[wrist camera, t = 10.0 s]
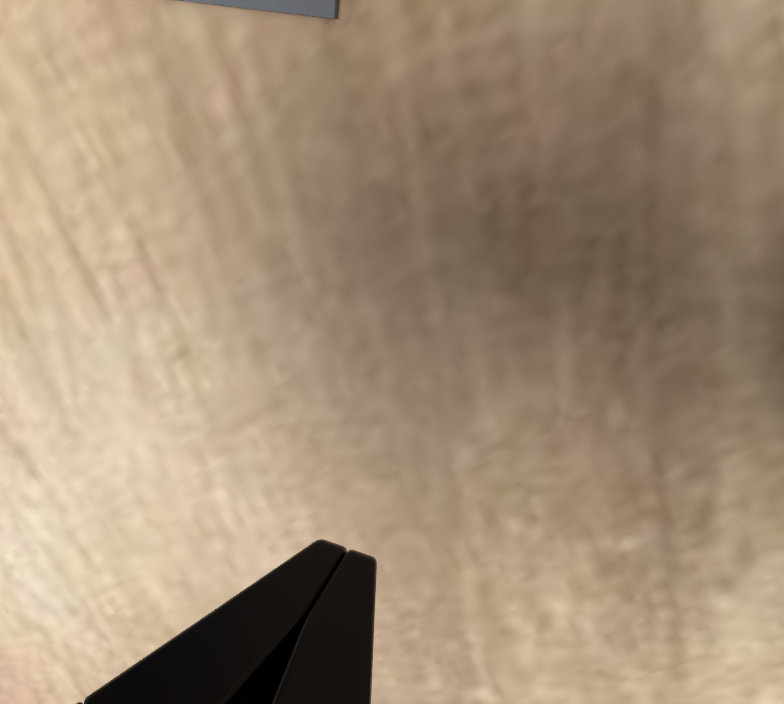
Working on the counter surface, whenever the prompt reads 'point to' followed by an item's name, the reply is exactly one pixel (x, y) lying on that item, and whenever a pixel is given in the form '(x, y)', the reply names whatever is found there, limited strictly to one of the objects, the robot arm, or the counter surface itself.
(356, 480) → the counter surface
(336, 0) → the mat
